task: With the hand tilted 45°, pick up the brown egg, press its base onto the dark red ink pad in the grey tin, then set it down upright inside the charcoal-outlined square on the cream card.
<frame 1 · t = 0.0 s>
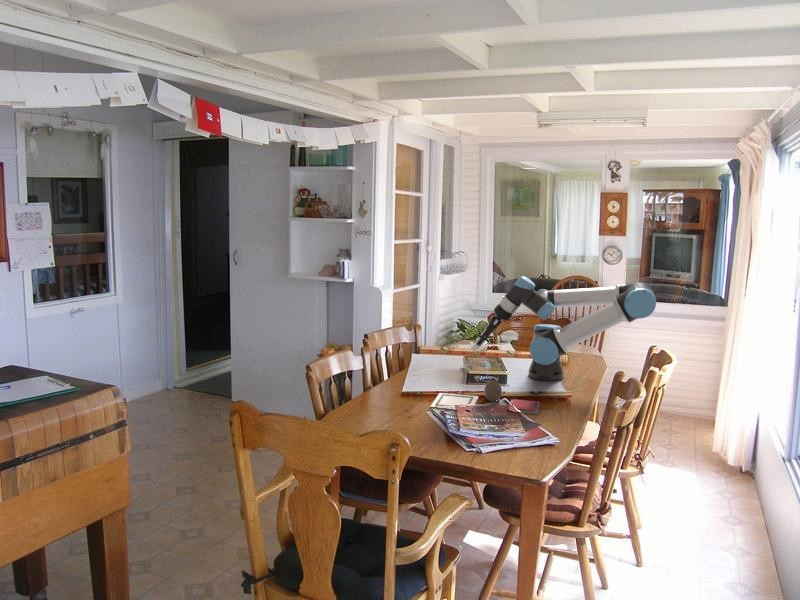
hand: (476, 346, 294), 15 cm above the table, tool tilted 35°, fingers open, 13 cm apart
brown egg: (492, 400, 273), on the table
ink pad: (524, 408, 264), on the table
marked card: (454, 402, 270), on the table
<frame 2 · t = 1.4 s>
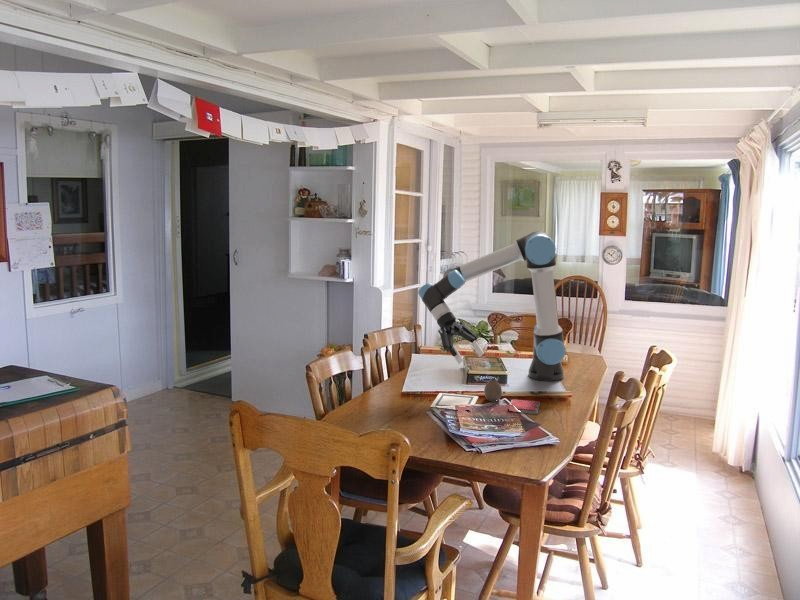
hand: (471, 358, 277), 15 cm above the table, tool tilted 45°, fingers open, 13 cm apart
nothing on the table moved.
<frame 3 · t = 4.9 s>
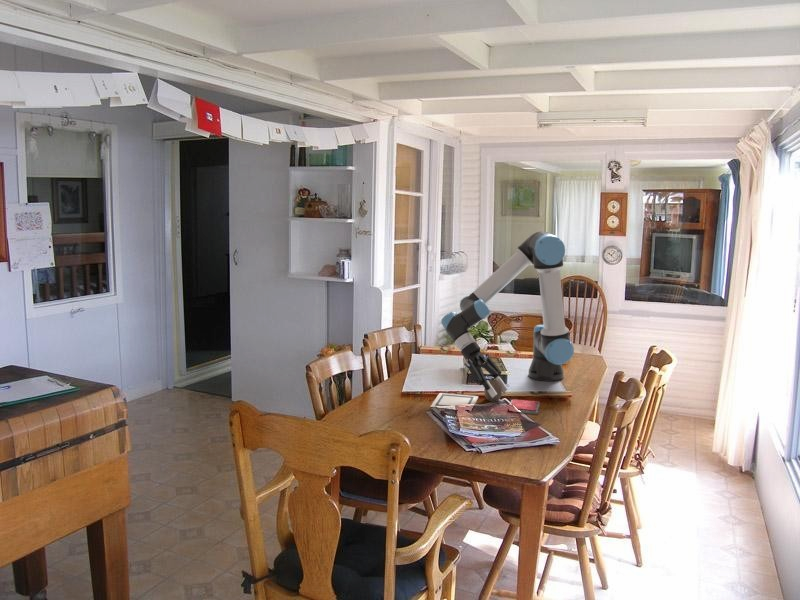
hand: (500, 393, 270), 4 cm above the table, tool tilted 45°, fingers closed on brown egg, 7 cm apart
brown egg: (492, 400, 273), on the table, touching gripper
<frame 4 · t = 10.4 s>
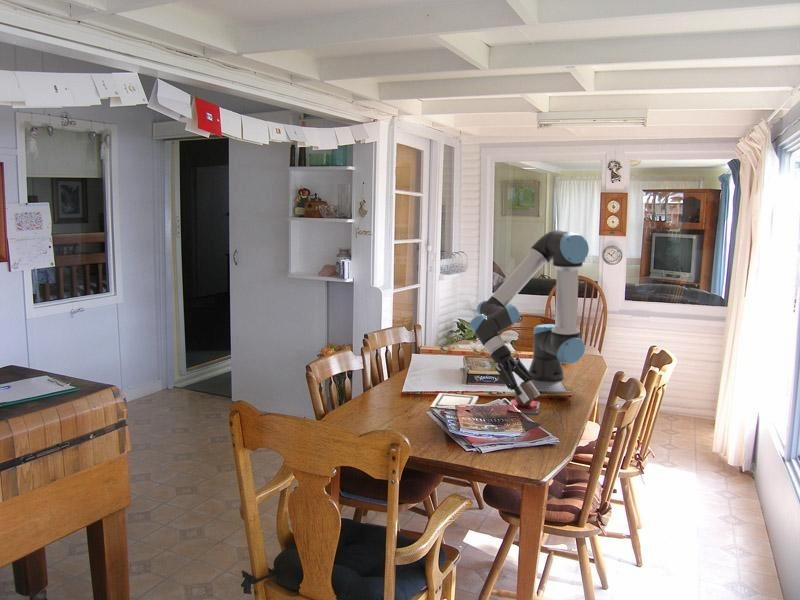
hand: (532, 398, 261), 5 cm above the table, tool tilted 45°, fingers closed on brown egg, 7 cm apart
brown egg: (523, 405, 264), point 1 cm above the table, touching gripper
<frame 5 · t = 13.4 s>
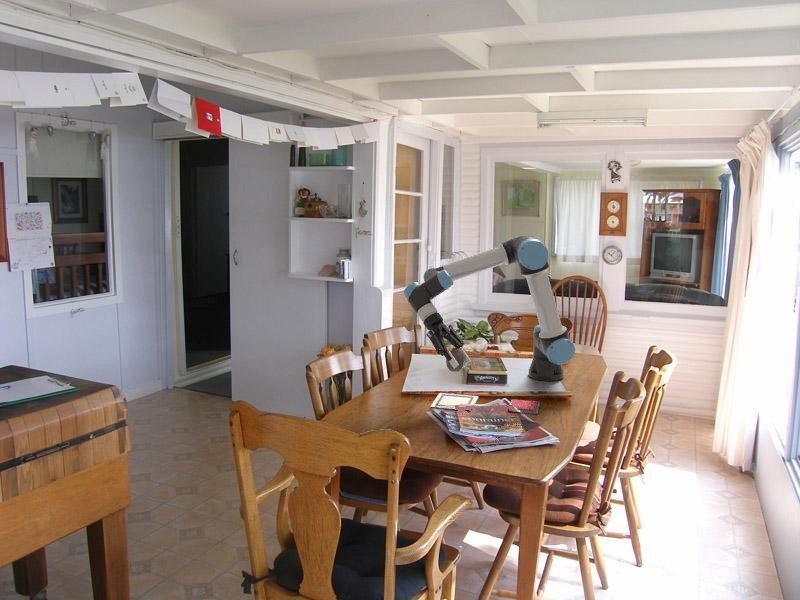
hand: (462, 364, 265), 16 cm above the table, tool tilted 45°, fingers closed on brown egg, 7 cm apart
brown egg: (454, 370, 268), point 13 cm above the table, touching gripper
when the fingers open (5 cm above the table, at t = 15.9 s): brown egg drops 1 cm, resting on marked card.
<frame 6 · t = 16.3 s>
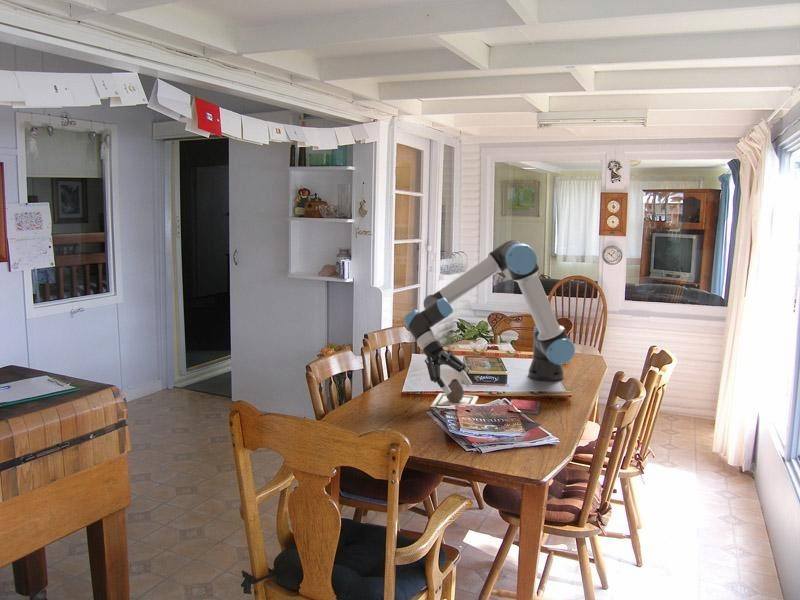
hand: (459, 389, 268), 6 cm above the table, tool tilted 45°, fingers open, 12 cm apart
brown egg: (454, 401, 270), resting on marked card
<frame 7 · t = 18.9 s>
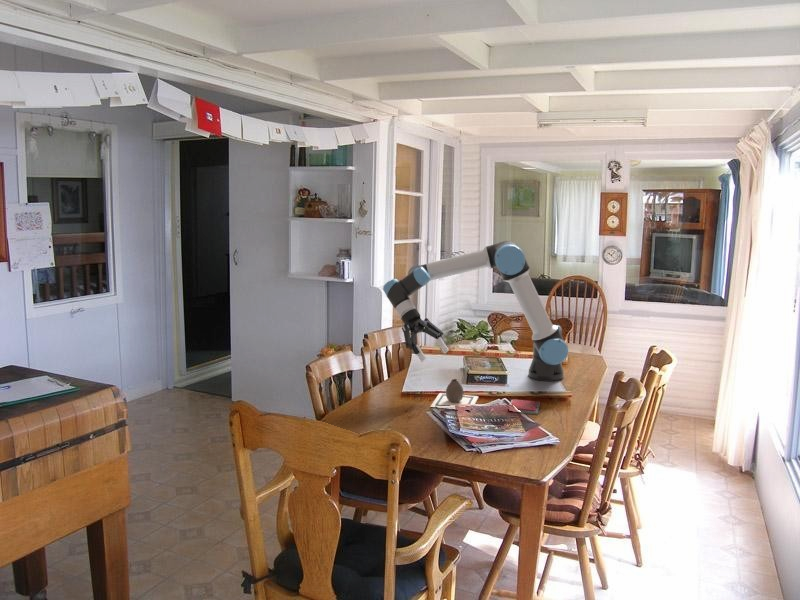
hand: (435, 356, 275), 17 cm above the table, tool tilted 45°, fingers open, 13 cm apart
nothing on the table moved.
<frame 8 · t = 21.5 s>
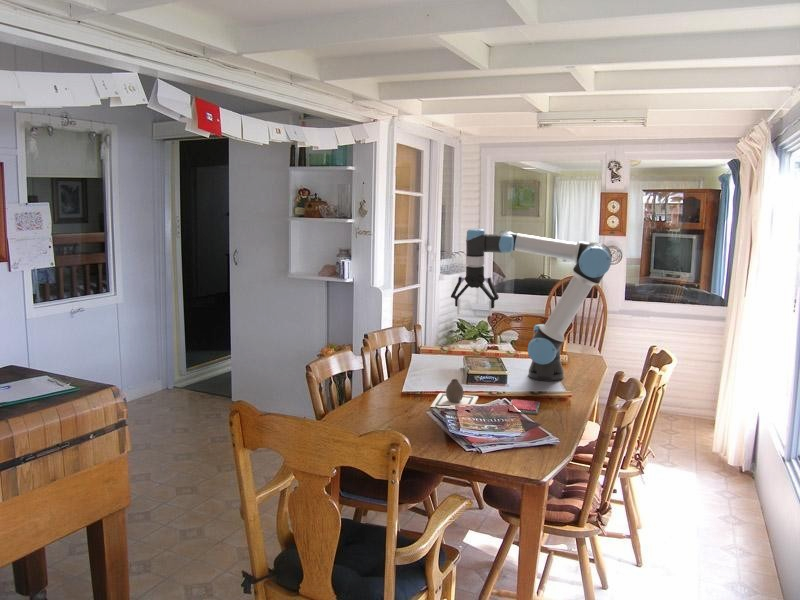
hand: (474, 314, 293), 29 cm above the table, tool pointing down, fingers open, 13 cm apart
nothing on the table moved.
at the end: brown egg 0.1 cm off-centre on the marked card, point 0.4 cm above the marked card's base; brown egg tilted 0°; the gripper is holding nothing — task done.
